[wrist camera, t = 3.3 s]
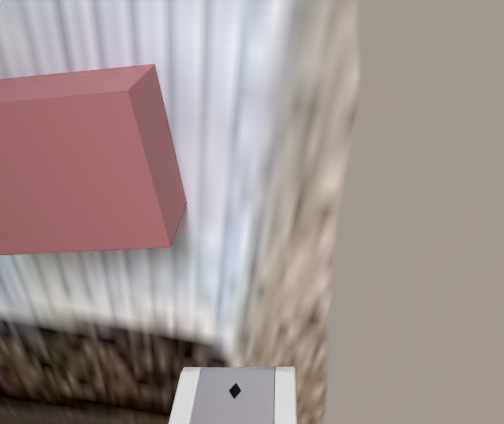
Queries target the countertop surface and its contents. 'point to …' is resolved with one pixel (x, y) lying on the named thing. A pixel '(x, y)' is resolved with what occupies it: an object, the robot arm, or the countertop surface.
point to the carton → (87, 163)
